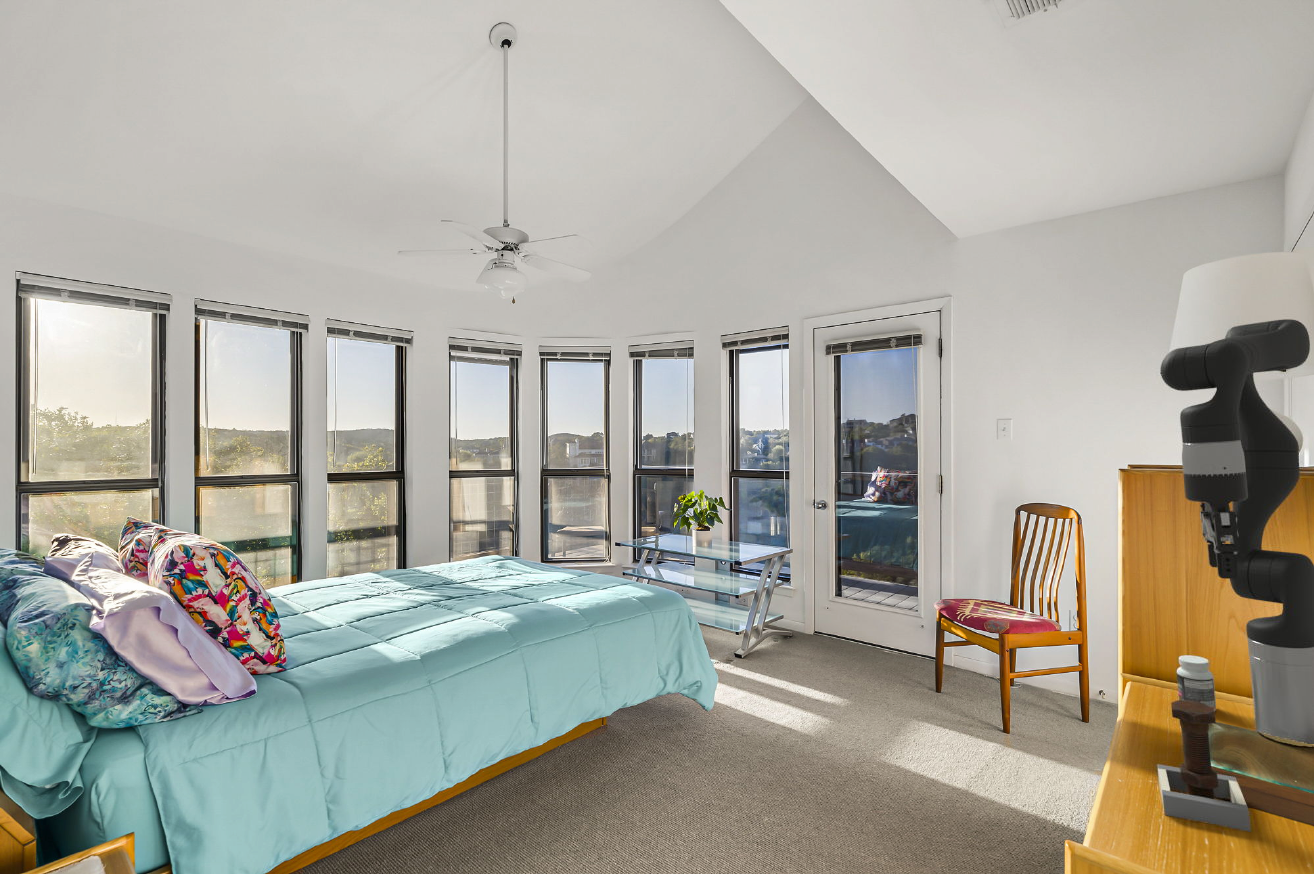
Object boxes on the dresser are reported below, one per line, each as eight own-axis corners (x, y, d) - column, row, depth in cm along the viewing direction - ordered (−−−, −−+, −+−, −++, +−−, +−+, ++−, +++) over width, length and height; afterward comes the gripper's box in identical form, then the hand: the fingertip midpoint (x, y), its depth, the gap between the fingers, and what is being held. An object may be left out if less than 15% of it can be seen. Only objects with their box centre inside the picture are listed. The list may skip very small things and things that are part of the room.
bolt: (1225, 819, 94) (1215, 716, 94) (1181, 809, 97) (1171, 710, 97) (1221, 799, 99) (1212, 702, 99) (1179, 791, 102) (1170, 696, 102)
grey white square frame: (1158, 782, 104) (1157, 763, 104) (1237, 796, 99) (1235, 776, 99) (1164, 814, 96) (1162, 794, 96) (1250, 831, 91) (1248, 810, 91)
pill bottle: (1179, 700, 133) (1175, 652, 133) (1216, 705, 129) (1211, 656, 129) (1179, 710, 128) (1174, 661, 128) (1217, 716, 125) (1212, 665, 125)
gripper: (1255, 472, 94) (1265, 583, 93) (1236, 465, 105) (1245, 564, 105) (1188, 474, 98) (1198, 581, 98) (1177, 468, 110) (1186, 562, 109)
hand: (1223, 572), depth 101 cm, fingers open, 8 cm apart
